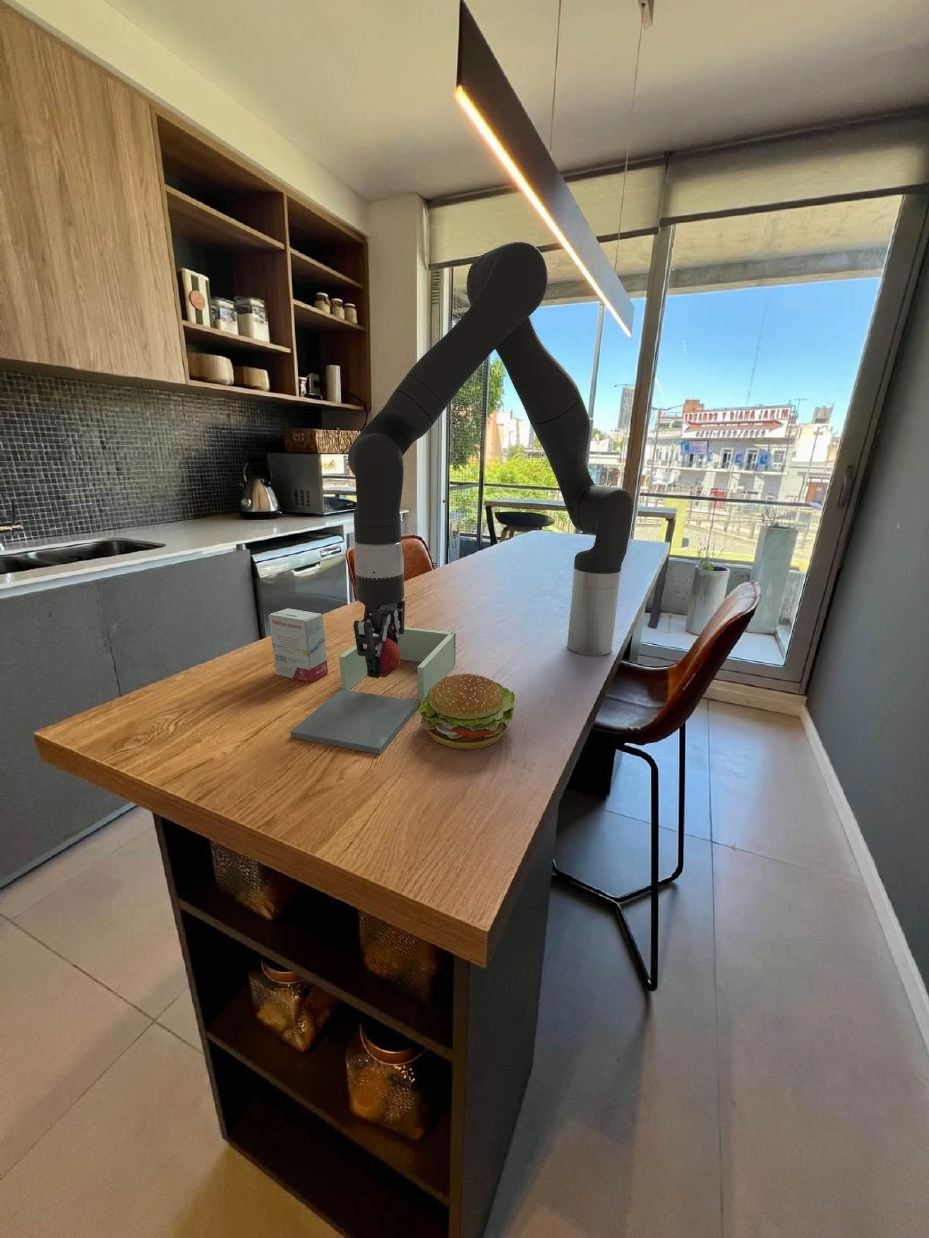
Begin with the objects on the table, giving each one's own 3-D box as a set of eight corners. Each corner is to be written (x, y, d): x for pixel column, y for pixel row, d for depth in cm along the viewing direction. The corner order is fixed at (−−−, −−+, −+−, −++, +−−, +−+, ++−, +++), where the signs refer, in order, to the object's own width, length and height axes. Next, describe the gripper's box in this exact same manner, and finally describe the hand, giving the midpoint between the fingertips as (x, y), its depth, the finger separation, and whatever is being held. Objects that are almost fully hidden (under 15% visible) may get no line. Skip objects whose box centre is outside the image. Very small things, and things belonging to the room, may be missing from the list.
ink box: (329, 673, 90) (324, 612, 87) (311, 684, 86) (305, 620, 82) (293, 665, 94) (287, 606, 90) (274, 674, 90) (267, 613, 86)
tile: (341, 694, 82) (341, 689, 82) (418, 706, 79) (418, 701, 78) (290, 737, 70) (290, 731, 69) (380, 754, 66) (380, 748, 66)
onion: (394, 686, 79) (392, 640, 76) (360, 682, 80) (358, 637, 77) (405, 671, 84) (404, 628, 82) (374, 668, 85) (372, 625, 83)
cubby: (384, 655, 99) (383, 624, 97) (455, 664, 95) (455, 633, 93) (341, 691, 83) (339, 656, 81) (423, 704, 79) (423, 667, 77)
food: (487, 769, 63) (489, 715, 61) (402, 737, 70) (401, 687, 68) (531, 723, 74) (534, 675, 72) (454, 699, 81) (455, 655, 79)
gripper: (380, 582, 69) (385, 690, 74) (419, 563, 82) (420, 656, 87) (333, 578, 71) (341, 683, 76) (378, 560, 84) (382, 651, 89)
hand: (383, 668), depth 81 cm, fingers closed on onion, 6 cm apart
